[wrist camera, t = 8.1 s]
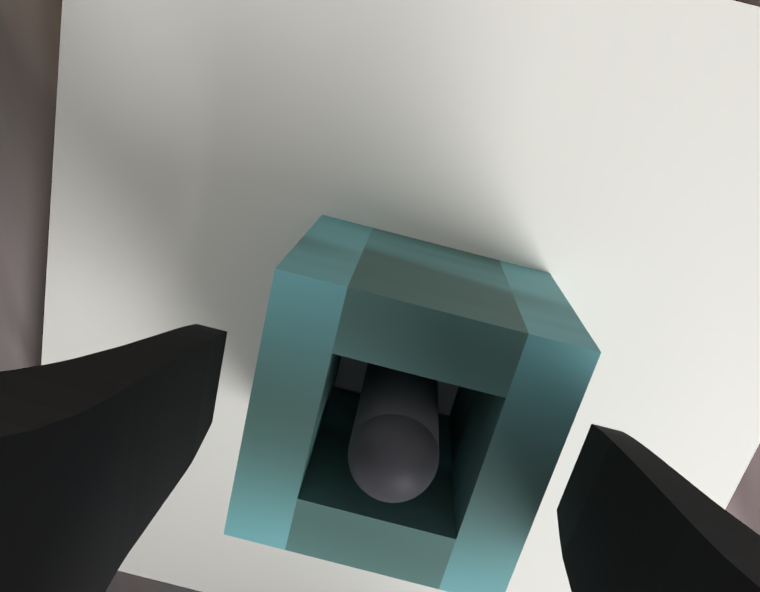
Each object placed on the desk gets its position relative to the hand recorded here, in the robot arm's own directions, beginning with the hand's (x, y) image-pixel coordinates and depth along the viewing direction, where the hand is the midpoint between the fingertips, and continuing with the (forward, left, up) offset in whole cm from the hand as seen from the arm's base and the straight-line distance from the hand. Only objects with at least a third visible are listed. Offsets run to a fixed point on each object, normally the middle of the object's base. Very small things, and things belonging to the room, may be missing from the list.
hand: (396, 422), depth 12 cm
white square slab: (0, 0, -4) cm, 4 cm away
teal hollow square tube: (0, 0, -3) cm, 3 cm away
